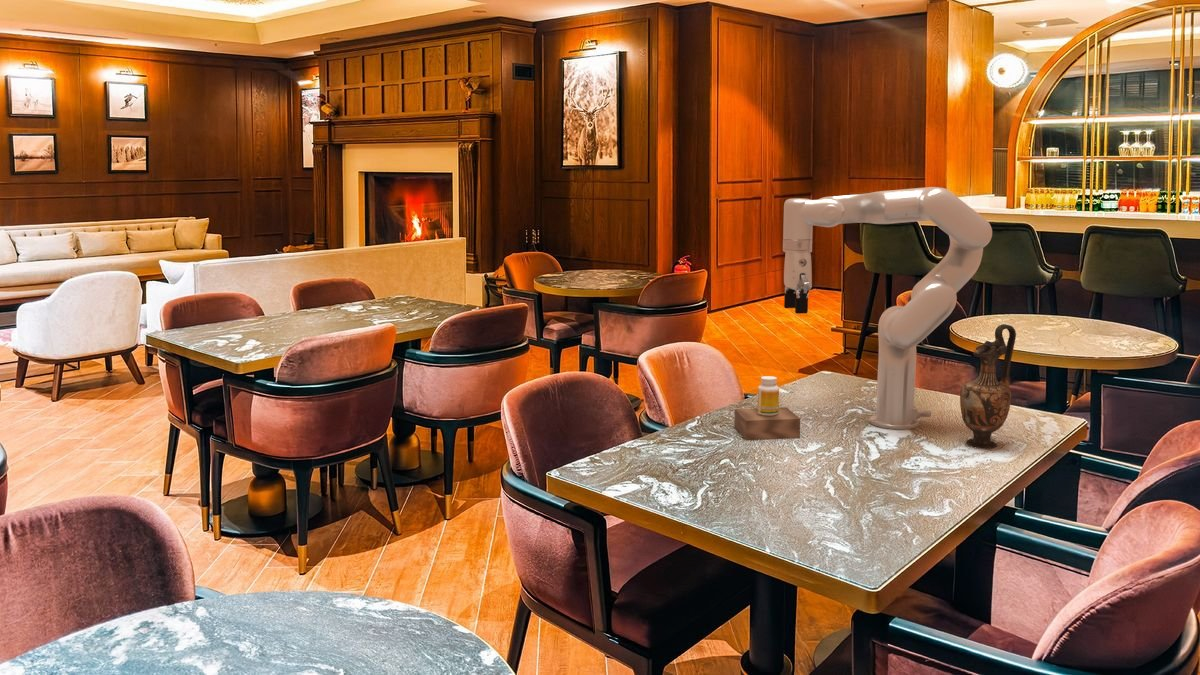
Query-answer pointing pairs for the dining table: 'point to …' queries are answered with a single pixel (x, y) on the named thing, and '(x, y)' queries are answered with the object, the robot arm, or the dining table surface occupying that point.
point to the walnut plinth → (767, 424)
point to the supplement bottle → (768, 396)
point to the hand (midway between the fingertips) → (795, 310)
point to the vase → (988, 391)
